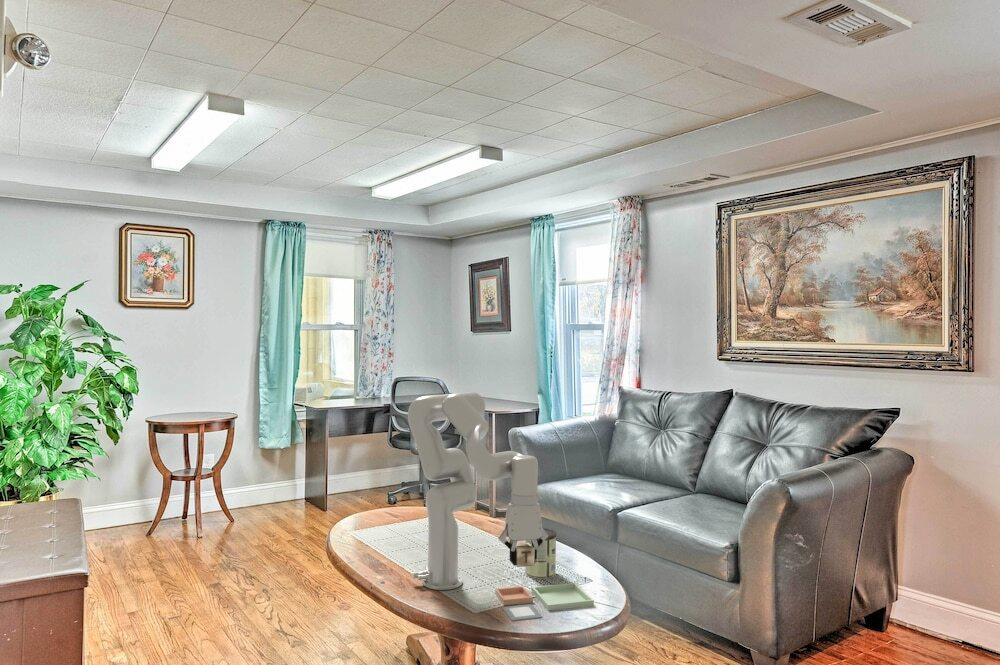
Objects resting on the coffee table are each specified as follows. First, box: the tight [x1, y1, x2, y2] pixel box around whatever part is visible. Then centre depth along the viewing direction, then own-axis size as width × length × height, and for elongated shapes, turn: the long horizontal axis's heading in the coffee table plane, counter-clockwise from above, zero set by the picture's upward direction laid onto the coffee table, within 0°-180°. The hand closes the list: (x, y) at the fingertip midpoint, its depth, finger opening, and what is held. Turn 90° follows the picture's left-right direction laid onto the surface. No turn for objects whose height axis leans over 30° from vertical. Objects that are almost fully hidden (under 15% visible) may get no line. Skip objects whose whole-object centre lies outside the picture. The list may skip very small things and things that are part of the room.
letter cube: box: [515, 542, 535, 568], centre depth 199 cm, size 5×5×5 cm
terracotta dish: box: [494, 585, 534, 606], centre depth 210 cm, size 9×9×2 cm
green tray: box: [530, 582, 595, 611], centre depth 210 cm, size 14×14×2 cm
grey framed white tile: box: [502, 603, 543, 622], centre depth 199 cm, size 9×9×1 cm
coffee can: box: [524, 527, 557, 580], centre depth 232 cm, size 10×10×14 cm
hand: (523, 562), depth 199 cm, fingers closed on letter cube, 5 cm apart
